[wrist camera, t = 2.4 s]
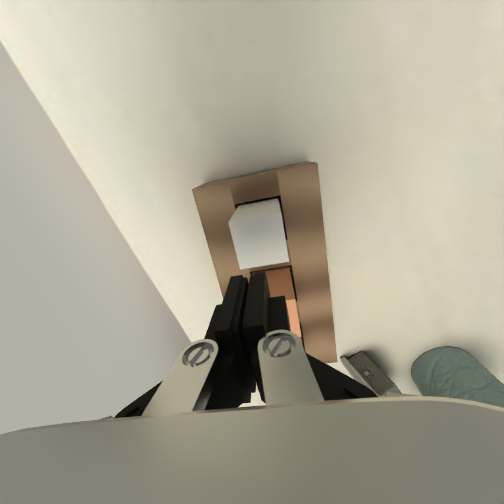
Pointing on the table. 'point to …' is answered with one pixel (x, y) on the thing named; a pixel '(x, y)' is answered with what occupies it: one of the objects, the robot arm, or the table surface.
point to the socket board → (297, 240)
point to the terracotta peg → (284, 293)
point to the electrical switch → (369, 374)
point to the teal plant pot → (456, 377)
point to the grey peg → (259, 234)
